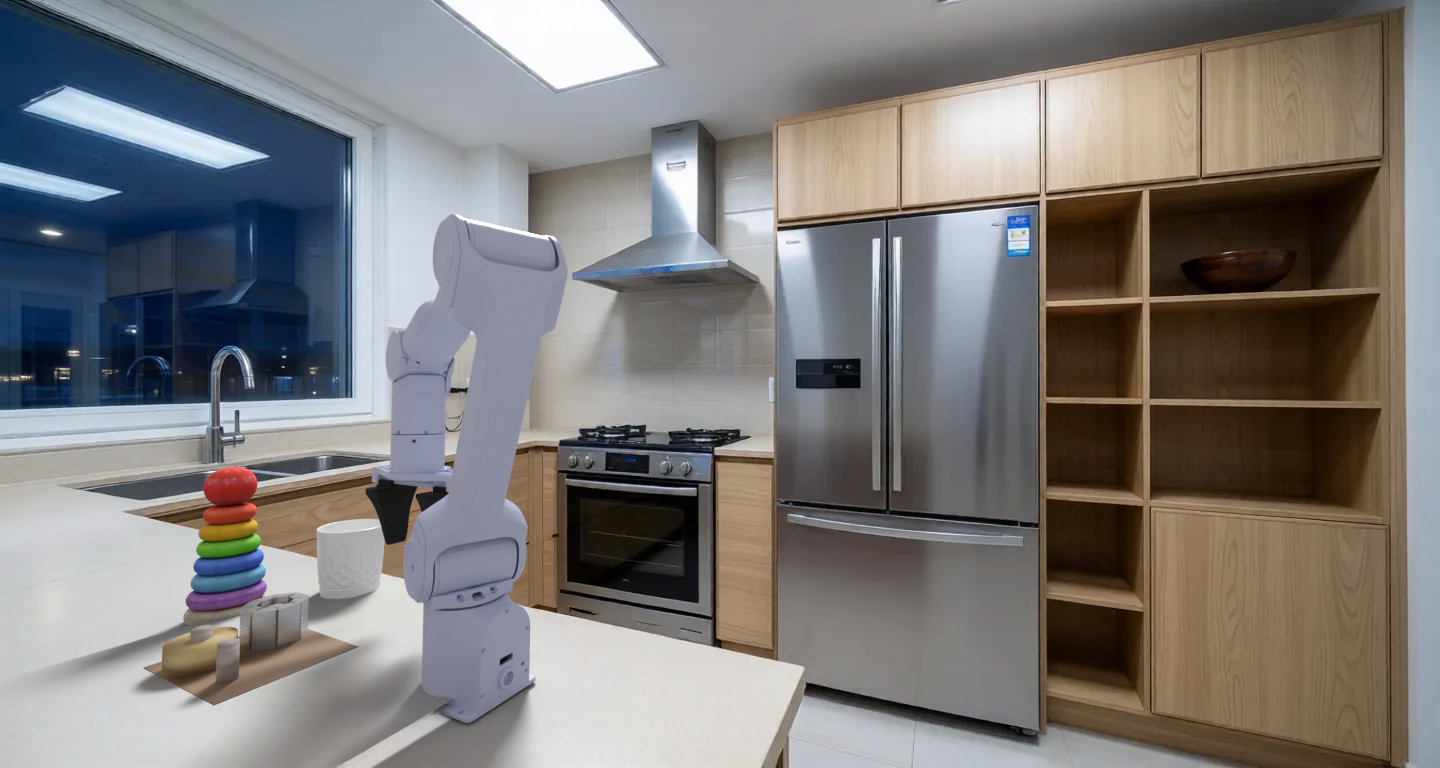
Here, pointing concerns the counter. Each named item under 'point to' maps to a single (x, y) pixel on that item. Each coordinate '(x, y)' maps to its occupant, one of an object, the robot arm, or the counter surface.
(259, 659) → the board
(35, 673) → the counter surface
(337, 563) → the white cup
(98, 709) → the counter surface
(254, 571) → the stacking toy
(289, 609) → the gear ring
